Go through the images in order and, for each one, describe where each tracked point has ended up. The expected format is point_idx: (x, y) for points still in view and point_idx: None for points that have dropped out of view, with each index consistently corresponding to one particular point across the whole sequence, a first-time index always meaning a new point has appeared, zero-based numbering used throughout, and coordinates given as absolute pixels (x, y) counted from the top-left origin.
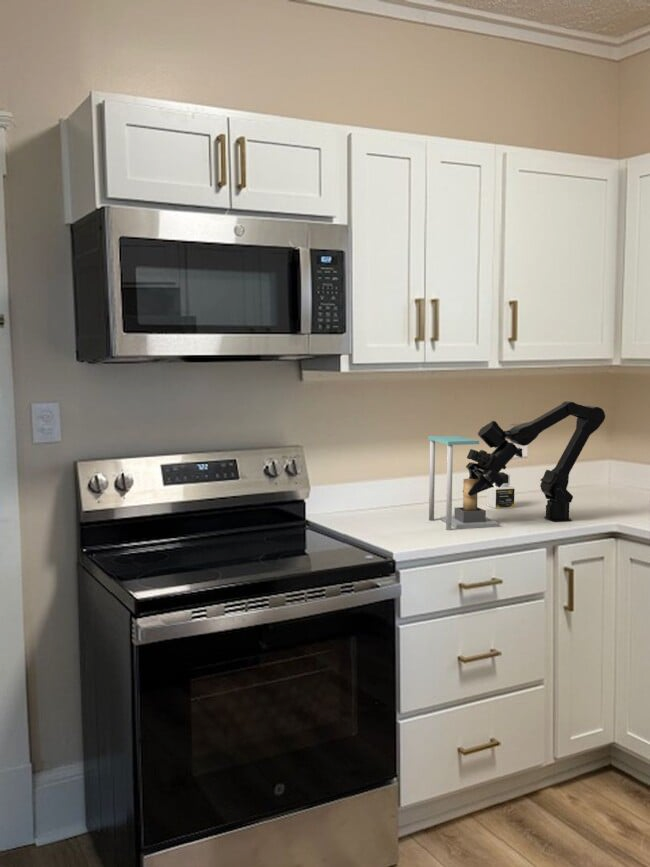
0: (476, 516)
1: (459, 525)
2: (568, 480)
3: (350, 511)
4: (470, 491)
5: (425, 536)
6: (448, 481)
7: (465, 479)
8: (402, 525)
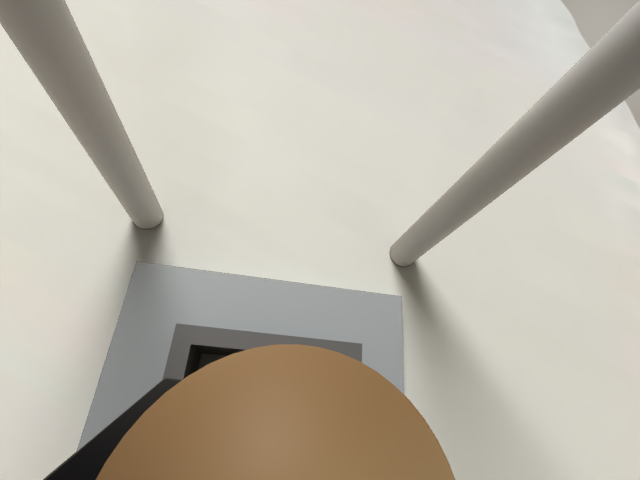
0: None
1: (132, 274)
2: None
3: None
4: (136, 407)
5: None
6: None
7: (342, 408)
8: (324, 96)
